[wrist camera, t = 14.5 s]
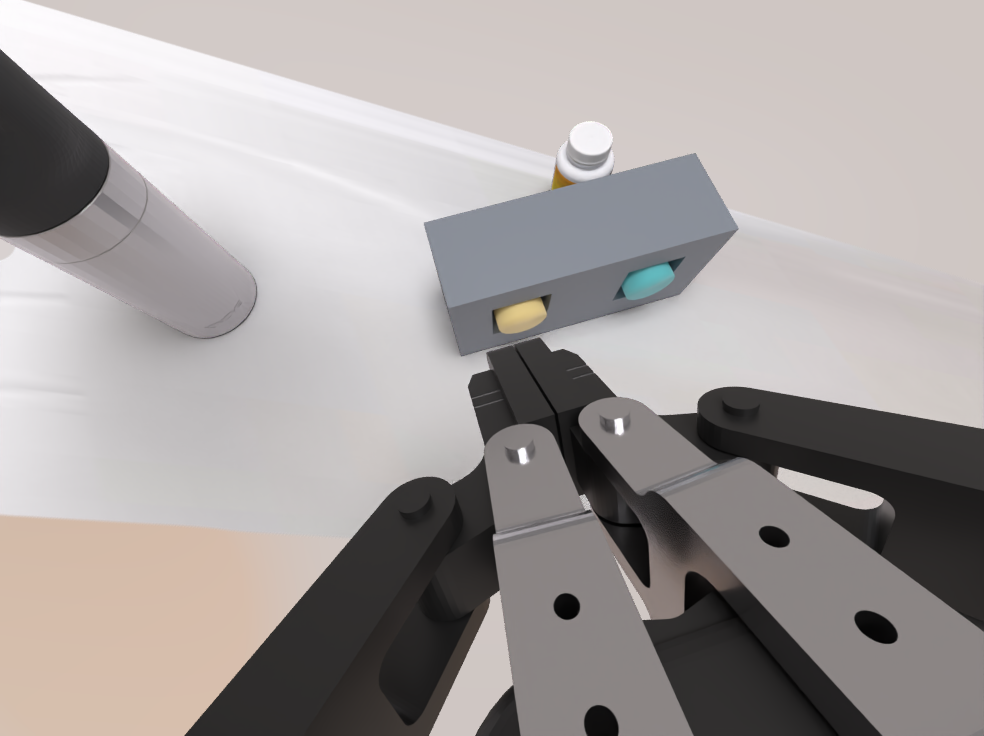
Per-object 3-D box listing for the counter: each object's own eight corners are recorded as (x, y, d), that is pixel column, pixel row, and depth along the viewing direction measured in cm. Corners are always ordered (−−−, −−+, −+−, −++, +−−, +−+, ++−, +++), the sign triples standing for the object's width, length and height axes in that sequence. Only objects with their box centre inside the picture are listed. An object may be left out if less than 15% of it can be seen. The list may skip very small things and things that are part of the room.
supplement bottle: (592, 237, 45) (618, 166, 35) (543, 229, 45) (555, 156, 36) (598, 197, 46) (625, 118, 37) (551, 189, 47) (565, 109, 37)
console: (679, 294, 43) (738, 228, 32) (461, 356, 41) (448, 308, 30) (649, 232, 45) (695, 153, 34) (441, 288, 43) (423, 222, 33)
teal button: (663, 292, 38) (683, 267, 34) (620, 304, 38) (635, 280, 34) (649, 264, 39) (667, 237, 35) (607, 275, 39) (620, 249, 35)
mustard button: (543, 325, 38) (549, 304, 33) (498, 338, 37) (499, 318, 33) (533, 296, 39) (537, 271, 34) (489, 308, 38) (488, 285, 34)
